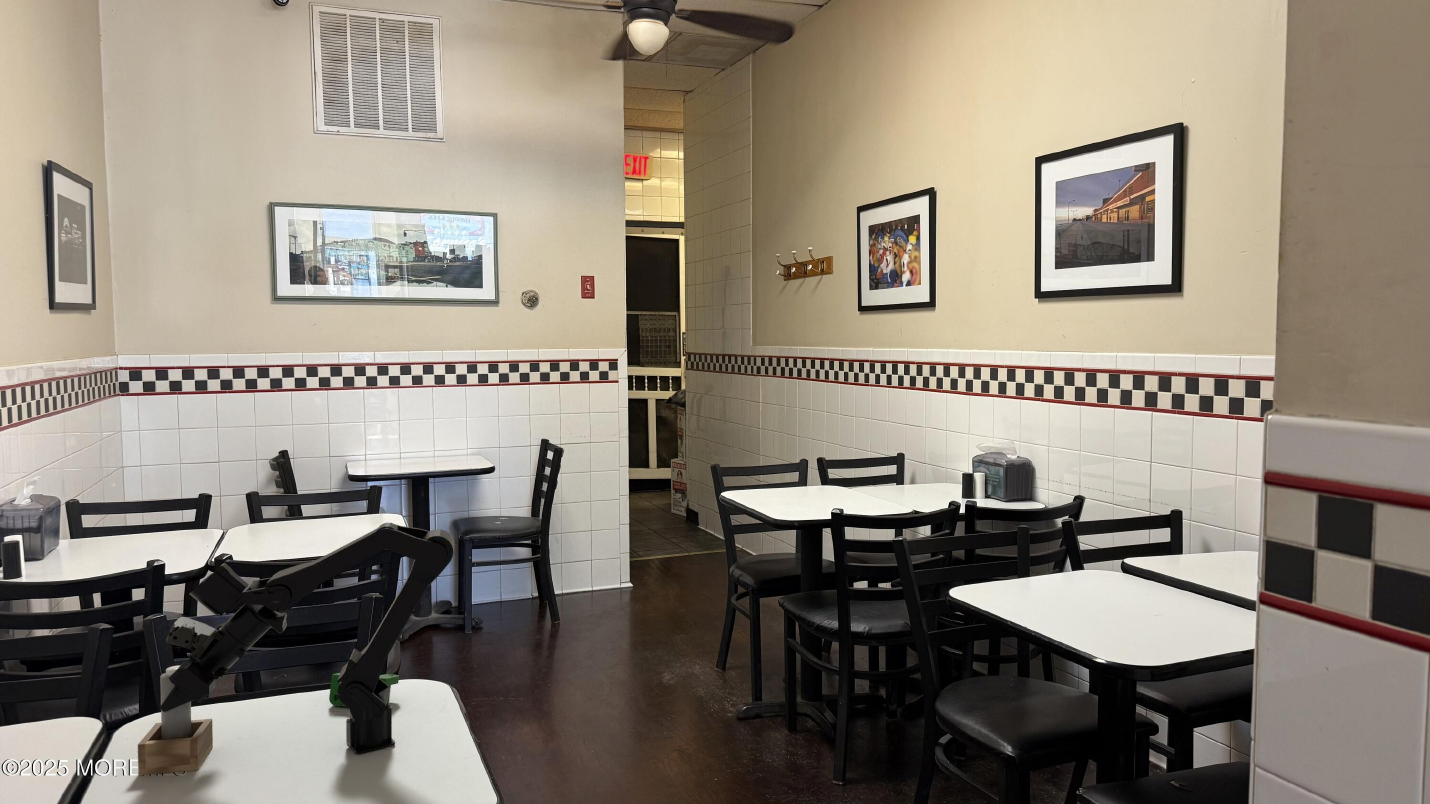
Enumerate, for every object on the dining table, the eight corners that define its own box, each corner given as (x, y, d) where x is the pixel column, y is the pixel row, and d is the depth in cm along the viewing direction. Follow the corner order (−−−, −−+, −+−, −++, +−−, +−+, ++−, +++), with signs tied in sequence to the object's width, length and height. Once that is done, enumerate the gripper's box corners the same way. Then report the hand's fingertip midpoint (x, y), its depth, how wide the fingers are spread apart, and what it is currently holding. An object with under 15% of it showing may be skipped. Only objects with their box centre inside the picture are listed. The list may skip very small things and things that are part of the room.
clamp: (386, 723, 177) (409, 679, 178) (370, 727, 172) (393, 682, 173) (337, 693, 180) (359, 650, 181) (320, 697, 174) (343, 653, 175)
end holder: (212, 747, 156) (212, 718, 155) (197, 769, 148) (197, 739, 147) (156, 752, 154) (156, 722, 153) (138, 775, 145) (137, 744, 145)
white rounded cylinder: (179, 736, 153) (177, 662, 152) (197, 740, 152) (196, 665, 151) (155, 746, 149) (154, 670, 148) (174, 750, 148) (172, 674, 147)
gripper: (216, 586, 159) (146, 654, 157) (182, 618, 141) (103, 694, 139) (266, 628, 161) (198, 695, 159) (239, 664, 143) (162, 740, 141)
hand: (166, 704), depth 150 cm, fingers closed on white rounded cylinder, 4 cm apart
